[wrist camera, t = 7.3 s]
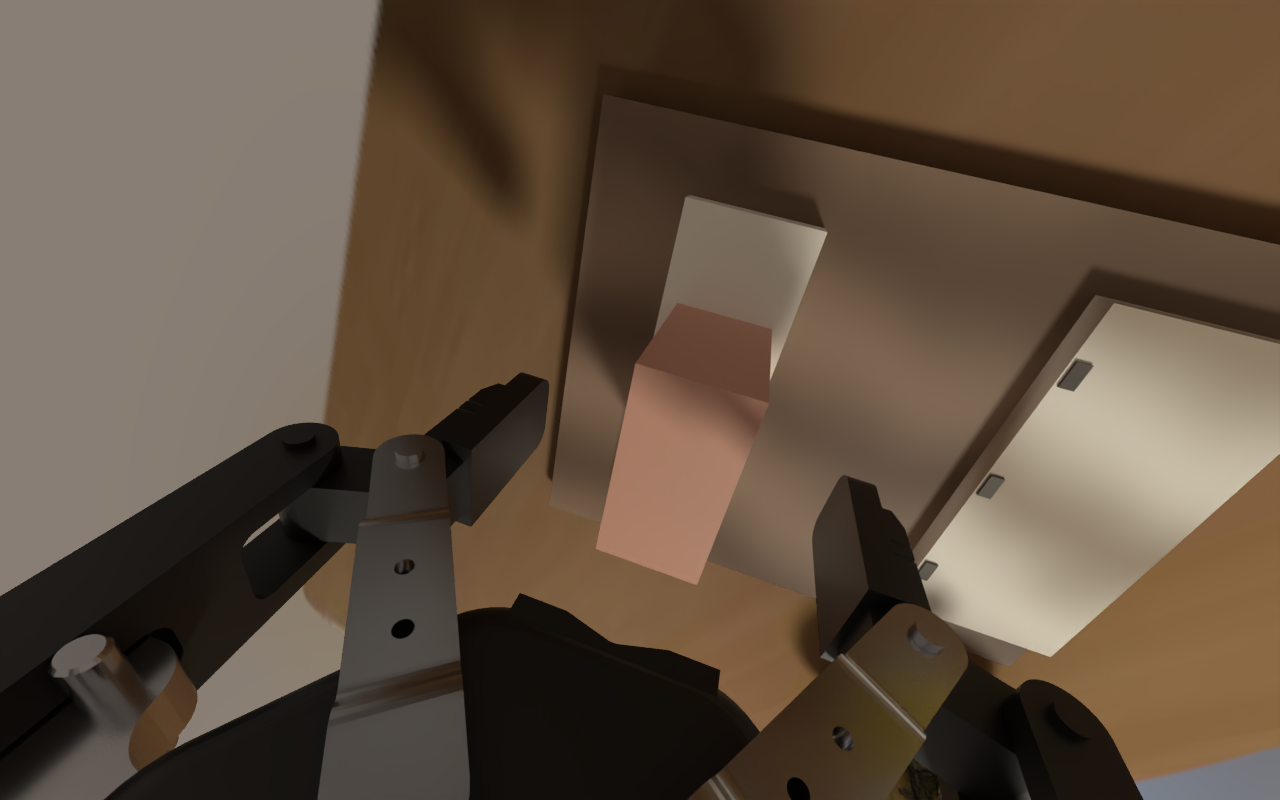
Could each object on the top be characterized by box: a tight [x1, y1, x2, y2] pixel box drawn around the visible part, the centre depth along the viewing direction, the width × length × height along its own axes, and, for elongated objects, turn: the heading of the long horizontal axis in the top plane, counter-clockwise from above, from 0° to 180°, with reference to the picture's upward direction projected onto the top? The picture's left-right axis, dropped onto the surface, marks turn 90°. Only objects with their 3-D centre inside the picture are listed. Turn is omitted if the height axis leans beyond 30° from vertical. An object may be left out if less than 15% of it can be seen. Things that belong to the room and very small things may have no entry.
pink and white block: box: [596, 195, 827, 585], centre depth 14 cm, size 12×4×6 cm, turn 169°
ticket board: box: [549, 94, 1280, 667], centre depth 16 cm, size 16×20×2 cm
